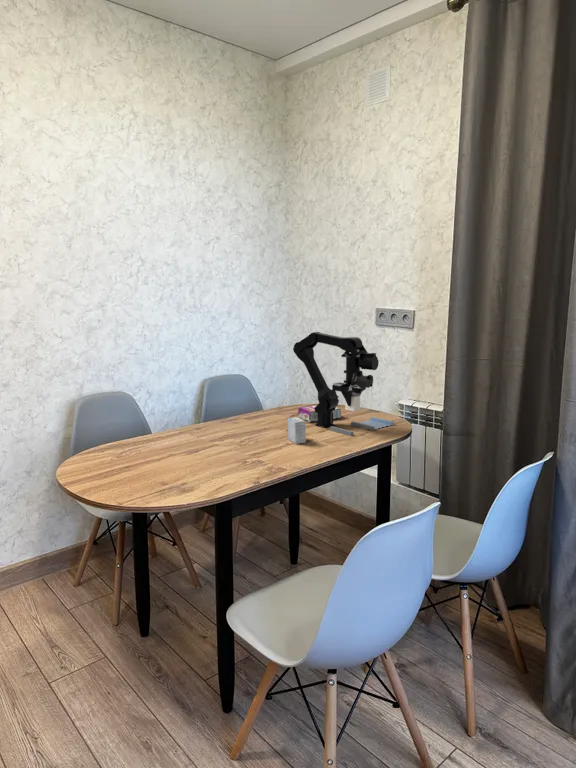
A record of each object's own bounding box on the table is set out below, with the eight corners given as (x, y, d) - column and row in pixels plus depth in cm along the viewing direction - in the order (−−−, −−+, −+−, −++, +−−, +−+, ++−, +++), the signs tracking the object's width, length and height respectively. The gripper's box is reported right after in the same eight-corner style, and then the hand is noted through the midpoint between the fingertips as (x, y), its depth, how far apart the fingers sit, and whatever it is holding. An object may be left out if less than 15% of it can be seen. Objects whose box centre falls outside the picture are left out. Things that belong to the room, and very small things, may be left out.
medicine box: (306, 443, 204) (306, 421, 202) (295, 444, 202) (295, 422, 201) (298, 438, 211) (298, 416, 210) (287, 439, 209) (287, 417, 208)
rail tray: (350, 436, 213) (350, 432, 213) (329, 430, 222) (329, 426, 222) (393, 424, 230) (393, 421, 230) (372, 419, 239) (372, 416, 239)
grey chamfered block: (354, 411, 218) (354, 394, 216) (345, 409, 221) (345, 393, 220) (359, 410, 220) (360, 393, 219) (351, 408, 224) (351, 391, 222)
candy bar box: (309, 423, 235) (341, 418, 242) (309, 412, 234) (341, 407, 241) (297, 418, 245) (328, 413, 252) (297, 407, 244) (328, 403, 251)
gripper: (351, 372, 206) (351, 412, 208) (383, 368, 217) (382, 405, 220) (331, 369, 214) (331, 407, 217) (362, 365, 226) (362, 401, 229)
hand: (352, 405), depth 220 cm, fingers closed on grey chamfered block, 3 cm apart
